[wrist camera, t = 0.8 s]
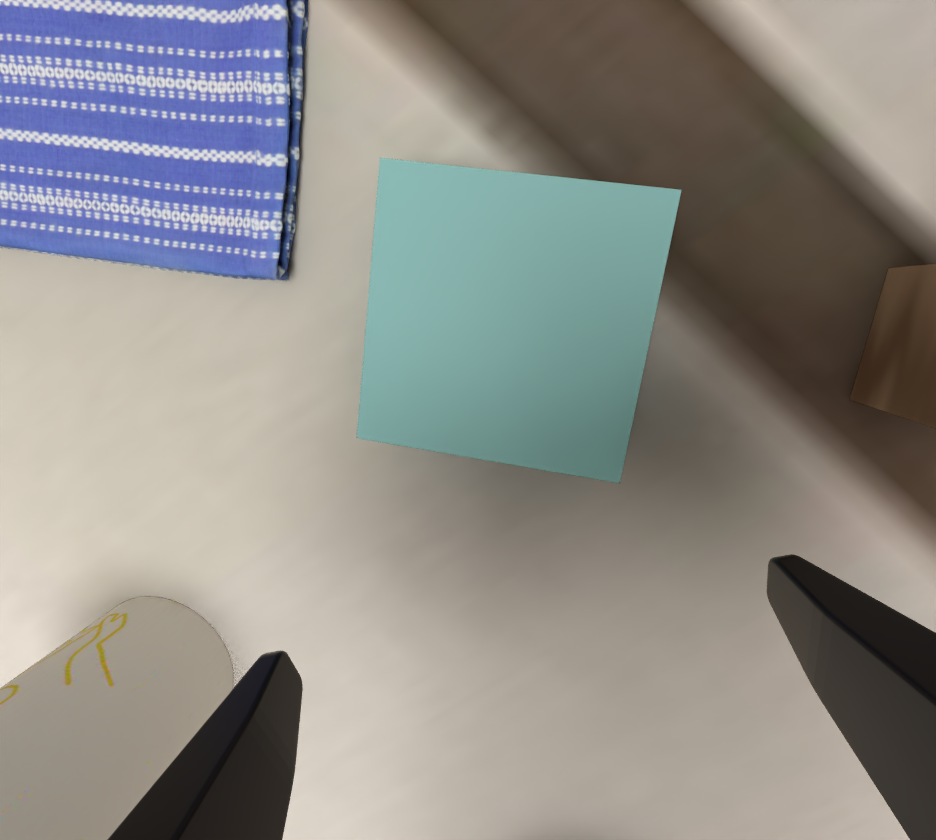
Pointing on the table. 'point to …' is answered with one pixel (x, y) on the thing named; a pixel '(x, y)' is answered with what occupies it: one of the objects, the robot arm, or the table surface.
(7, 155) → the dish towel
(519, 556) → the table surface
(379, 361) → the teal plinth
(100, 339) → the table surface
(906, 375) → the walnut pillar
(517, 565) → the table surface
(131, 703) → the cup
